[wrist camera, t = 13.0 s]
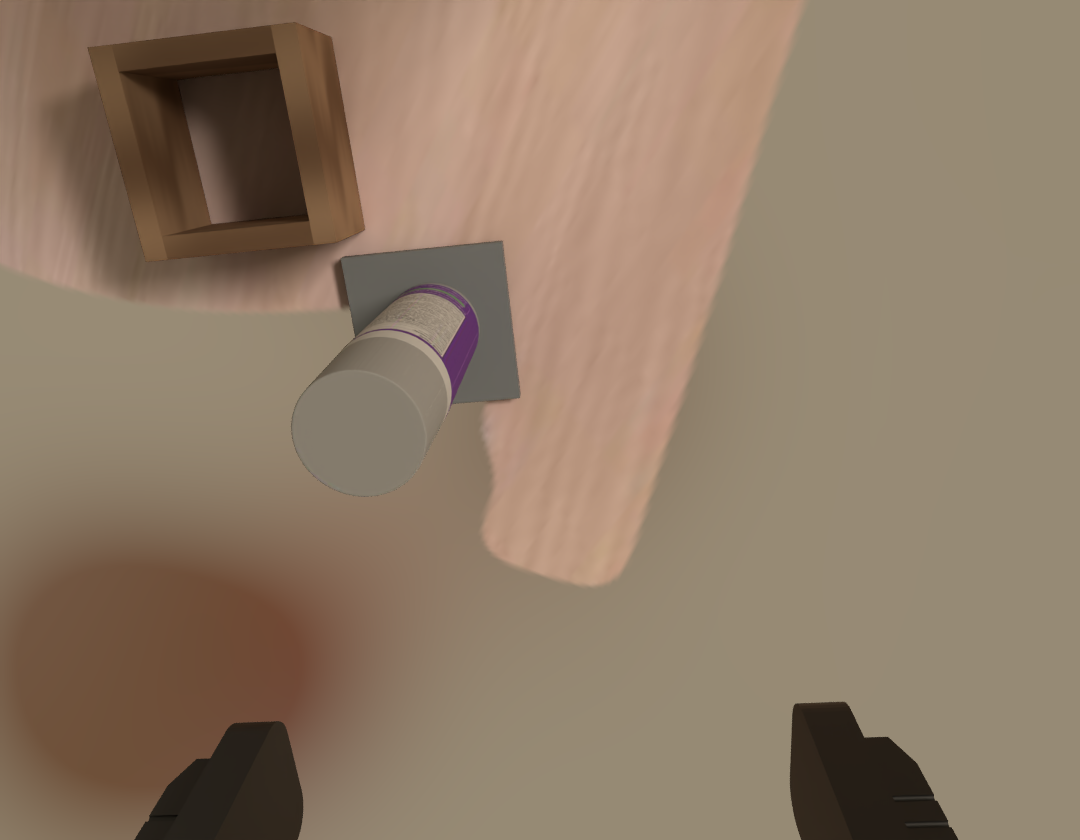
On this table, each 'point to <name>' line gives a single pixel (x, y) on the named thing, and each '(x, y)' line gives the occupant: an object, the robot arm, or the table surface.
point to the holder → (167, 152)
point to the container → (387, 393)
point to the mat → (469, 273)
